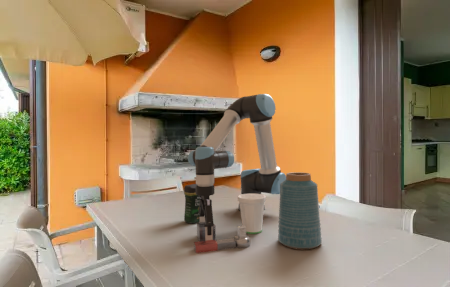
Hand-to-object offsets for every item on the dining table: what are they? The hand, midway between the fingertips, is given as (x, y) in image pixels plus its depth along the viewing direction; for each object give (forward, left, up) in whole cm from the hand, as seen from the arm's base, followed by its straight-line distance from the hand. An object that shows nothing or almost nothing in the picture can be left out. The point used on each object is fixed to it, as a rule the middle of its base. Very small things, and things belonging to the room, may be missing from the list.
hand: (205, 237), depth 110 cm
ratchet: (-5, +10, -1) cm, 11 cm away
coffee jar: (+1, -27, -1) cm, 27 cm away
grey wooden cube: (0, 0, -1) cm, 1 cm away
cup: (-22, -5, -1) cm, 22 cm away
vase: (-34, +14, -1) cm, 37 cm away
